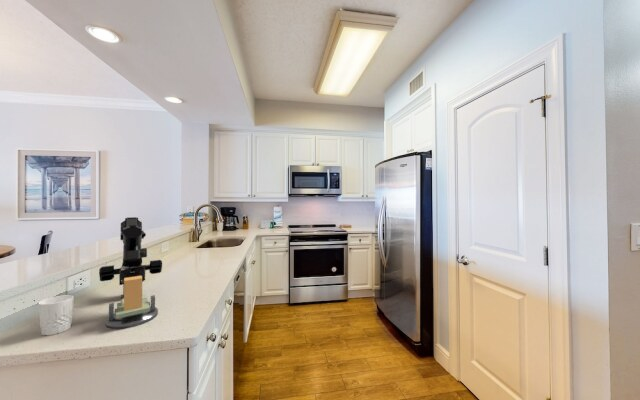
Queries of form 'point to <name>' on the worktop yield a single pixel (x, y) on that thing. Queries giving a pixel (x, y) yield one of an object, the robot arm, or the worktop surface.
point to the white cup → (55, 314)
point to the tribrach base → (130, 317)
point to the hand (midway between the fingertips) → (132, 290)
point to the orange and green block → (132, 298)
